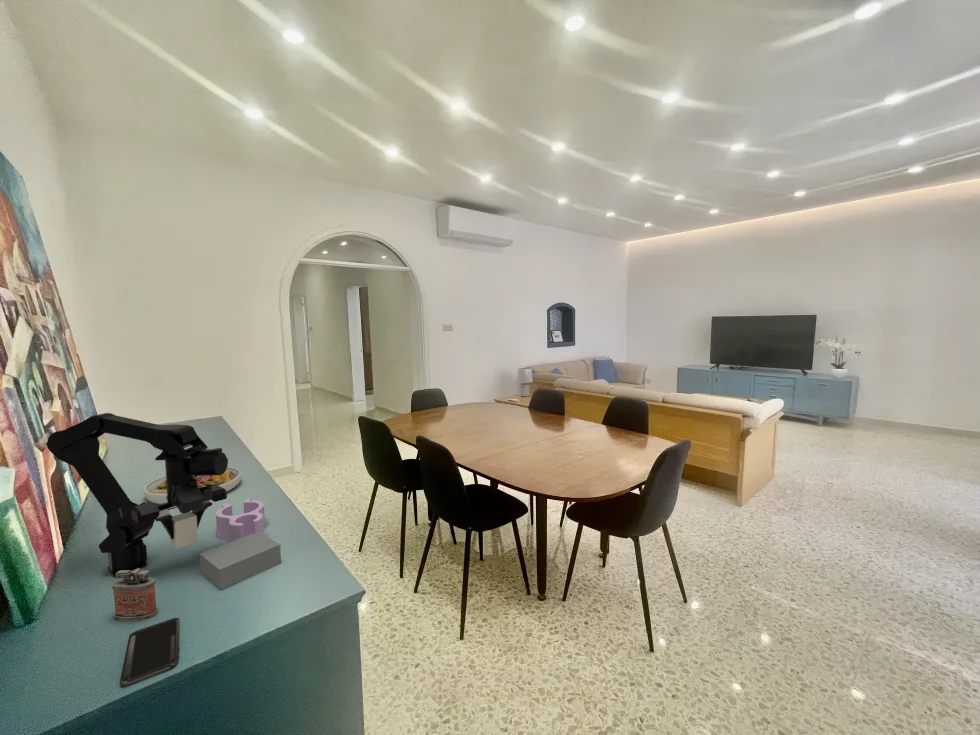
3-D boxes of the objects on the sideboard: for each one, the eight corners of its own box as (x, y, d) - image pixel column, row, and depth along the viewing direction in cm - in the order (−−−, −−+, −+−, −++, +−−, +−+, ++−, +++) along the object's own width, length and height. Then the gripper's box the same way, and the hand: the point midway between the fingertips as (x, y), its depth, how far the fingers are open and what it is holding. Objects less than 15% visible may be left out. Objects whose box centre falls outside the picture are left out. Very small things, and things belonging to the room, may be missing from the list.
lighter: (162, 609, 86) (159, 565, 86) (149, 620, 83) (146, 574, 82) (123, 610, 86) (120, 566, 85) (109, 621, 83) (106, 575, 82)
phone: (118, 685, 67) (129, 632, 79) (119, 692, 67) (130, 638, 79) (178, 662, 71) (180, 615, 83) (179, 668, 71) (180, 620, 83)
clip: (274, 539, 117) (273, 516, 116) (223, 554, 109) (222, 530, 108) (259, 516, 132) (258, 496, 132) (213, 528, 124) (212, 506, 123)
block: (176, 549, 100) (175, 522, 99) (170, 543, 102) (169, 517, 102) (198, 541, 103) (196, 515, 103) (191, 536, 106) (190, 511, 105)
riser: (220, 590, 93) (219, 569, 93) (200, 572, 100) (199, 553, 100) (280, 562, 104) (280, 544, 104) (259, 548, 111) (258, 531, 111)
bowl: (241, 497, 149) (240, 476, 148) (135, 516, 133) (134, 493, 132) (241, 473, 174) (240, 456, 173) (152, 487, 158) (151, 468, 157)
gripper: (143, 494, 89) (147, 561, 90) (234, 471, 104) (237, 529, 106) (128, 484, 96) (133, 546, 97) (217, 464, 111) (219, 518, 112)
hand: (183, 534), depth 103 cm, fingers closed on block, 4 cm apart
